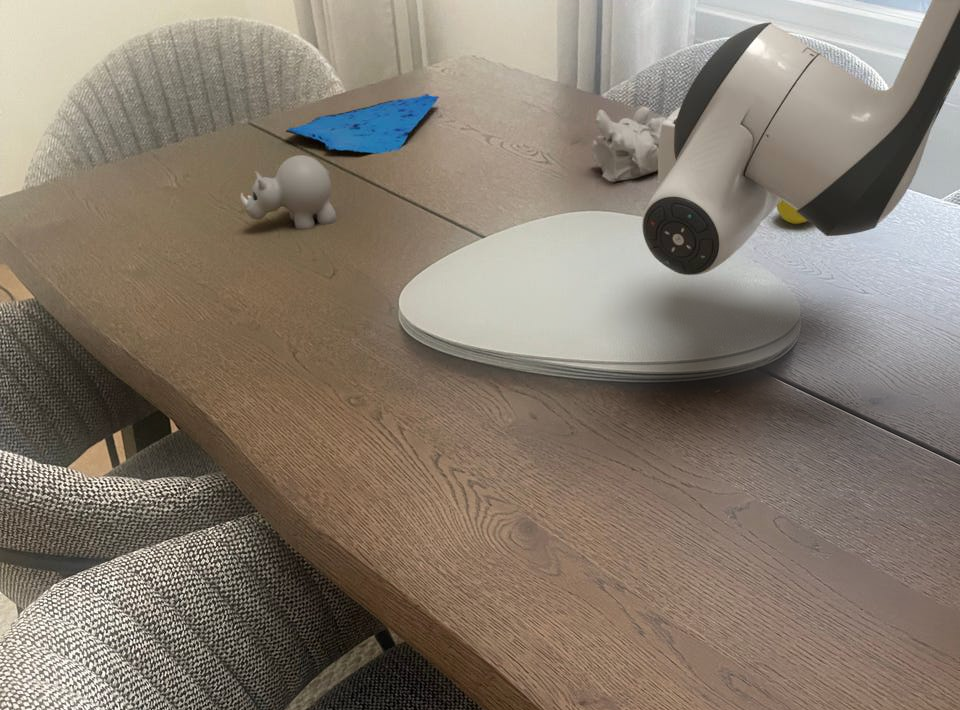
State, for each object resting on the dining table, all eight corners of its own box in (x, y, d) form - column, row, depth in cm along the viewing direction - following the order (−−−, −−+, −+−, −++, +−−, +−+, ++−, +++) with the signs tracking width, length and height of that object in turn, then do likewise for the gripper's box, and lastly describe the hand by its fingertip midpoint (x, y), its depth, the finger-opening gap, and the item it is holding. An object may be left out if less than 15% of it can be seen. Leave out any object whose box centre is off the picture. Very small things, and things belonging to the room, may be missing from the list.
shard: (302, 111, 163) (299, 98, 161) (442, 100, 161) (440, 87, 159) (275, 167, 146) (272, 153, 144) (431, 155, 144) (429, 141, 142)
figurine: (589, 107, 124) (676, 72, 124) (584, 150, 134) (664, 117, 134) (614, 166, 124) (701, 130, 124) (606, 205, 134) (687, 172, 134)
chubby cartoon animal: (246, 226, 131) (229, 160, 125) (331, 208, 133) (319, 142, 127) (254, 247, 126) (236, 180, 120) (343, 227, 128) (330, 160, 122)
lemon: (798, 241, 115) (809, 171, 109) (762, 227, 118) (771, 158, 112) (828, 225, 117) (841, 156, 111) (792, 212, 120) (802, 144, 114)
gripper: (869, 142, 82) (911, 88, 90) (645, 119, 90) (702, 72, 98) (855, 216, 86) (896, 159, 94) (643, 189, 95) (697, 138, 103)
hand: (795, 114), depth 96 cm, fingers open, 8 cm apart
